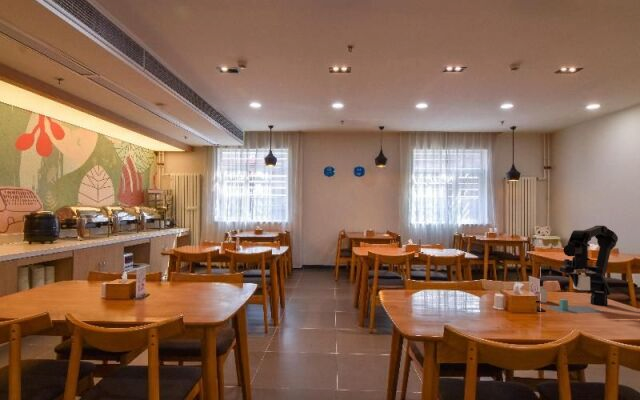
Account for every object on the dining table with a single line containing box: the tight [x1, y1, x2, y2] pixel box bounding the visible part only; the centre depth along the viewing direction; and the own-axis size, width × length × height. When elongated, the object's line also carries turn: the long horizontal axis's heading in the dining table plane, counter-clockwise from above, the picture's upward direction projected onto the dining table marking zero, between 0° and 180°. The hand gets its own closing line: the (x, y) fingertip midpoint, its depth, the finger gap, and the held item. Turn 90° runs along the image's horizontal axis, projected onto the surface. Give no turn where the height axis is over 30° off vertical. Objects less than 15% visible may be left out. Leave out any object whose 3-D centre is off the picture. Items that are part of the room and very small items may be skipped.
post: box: [558, 298, 569, 311], centre depth 197 cm, size 3×3×5 cm
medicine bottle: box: [538, 278, 548, 303], centre depth 218 cm, size 7×7×12 cm
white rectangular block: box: [572, 274, 590, 291], centre depth 202 cm, size 5×5×7 cm
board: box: [544, 305, 606, 314], centre depth 198 cm, size 22×14×1 cm, turn 89°
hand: (581, 286), depth 202 cm, fingers closed on white rectangular block, 5 cm apart
